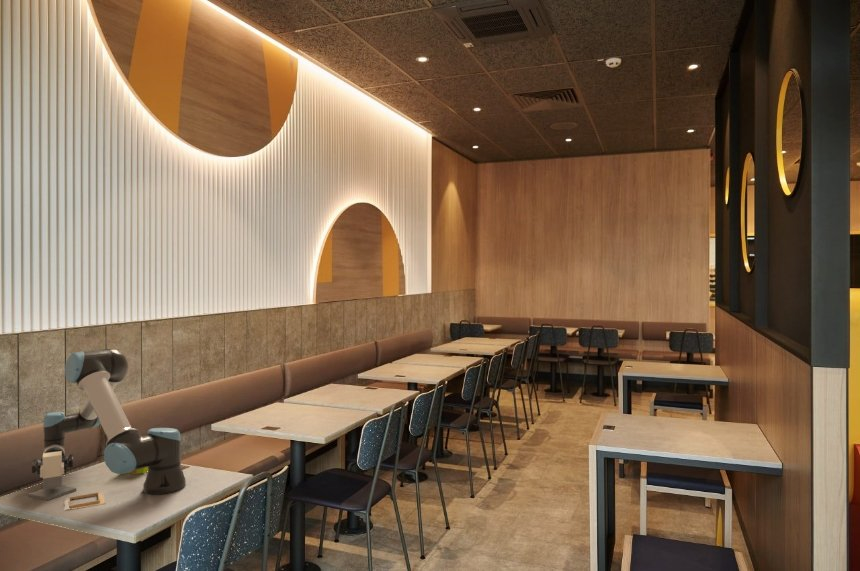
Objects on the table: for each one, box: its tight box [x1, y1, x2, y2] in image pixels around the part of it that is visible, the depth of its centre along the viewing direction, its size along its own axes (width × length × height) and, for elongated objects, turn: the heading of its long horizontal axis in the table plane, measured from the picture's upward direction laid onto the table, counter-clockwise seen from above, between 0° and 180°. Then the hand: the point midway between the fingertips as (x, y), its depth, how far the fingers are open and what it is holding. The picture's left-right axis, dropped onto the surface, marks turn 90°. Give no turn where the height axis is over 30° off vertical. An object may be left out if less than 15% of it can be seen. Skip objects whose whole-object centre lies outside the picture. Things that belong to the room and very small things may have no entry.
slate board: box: [28, 484, 77, 501], centre depth 224 cm, size 11×11×1 cm
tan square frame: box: [68, 491, 106, 510], centre depth 216 cm, size 13×13×1 cm
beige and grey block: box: [42, 451, 63, 489], centre depth 224 cm, size 6×6×12 cm
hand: (52, 472), depth 220 cm, fingers closed on beige and grey block, 6 cm apart
